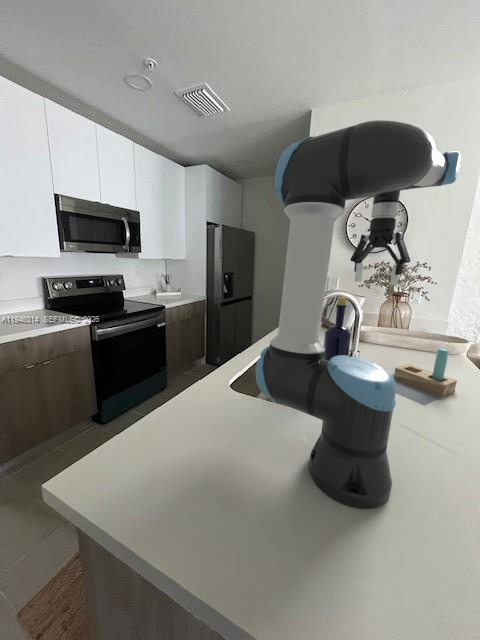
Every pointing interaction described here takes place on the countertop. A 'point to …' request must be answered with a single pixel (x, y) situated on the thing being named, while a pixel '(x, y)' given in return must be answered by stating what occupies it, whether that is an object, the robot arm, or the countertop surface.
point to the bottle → (337, 334)
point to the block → (424, 380)
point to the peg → (440, 364)
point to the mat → (415, 392)
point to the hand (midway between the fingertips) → (374, 283)
